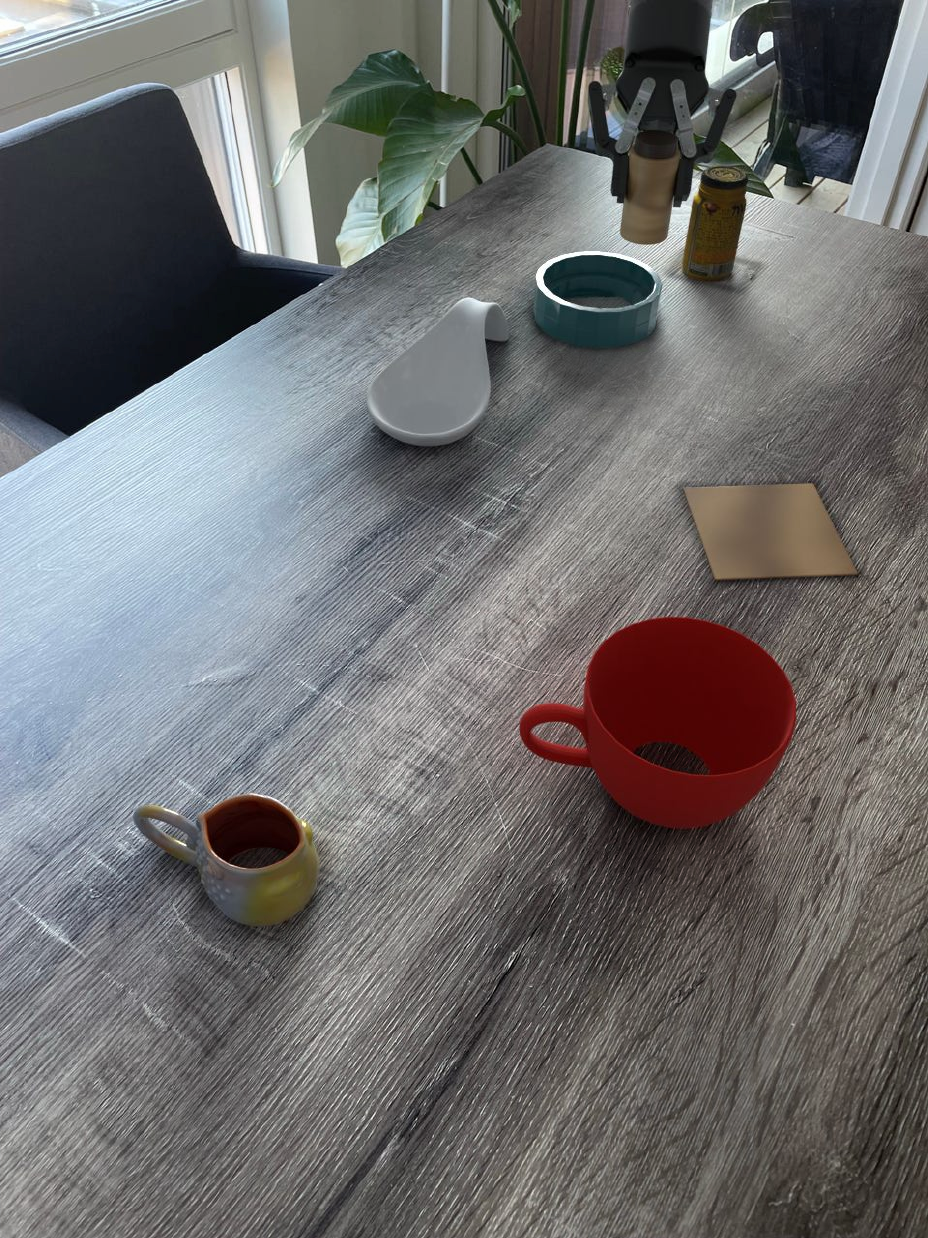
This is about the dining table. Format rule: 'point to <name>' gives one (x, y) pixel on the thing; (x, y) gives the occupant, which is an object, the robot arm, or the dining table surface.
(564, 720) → the ceramic cup
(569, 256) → the pot
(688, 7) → the robot arm
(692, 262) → the condiment
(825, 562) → the plate
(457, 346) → the spoon rest
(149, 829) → the mug
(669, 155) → the pepper mill
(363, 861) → the dining table surface
